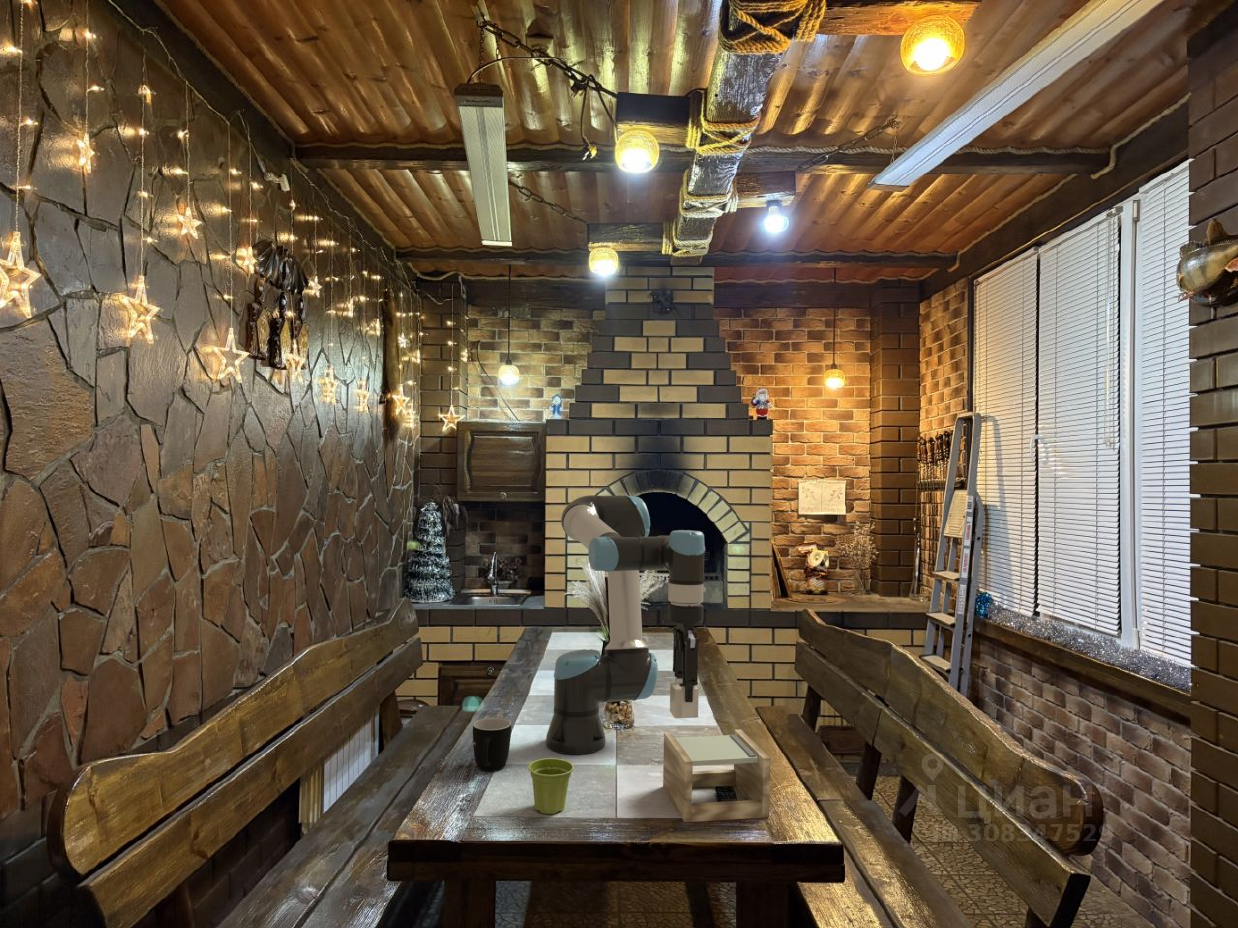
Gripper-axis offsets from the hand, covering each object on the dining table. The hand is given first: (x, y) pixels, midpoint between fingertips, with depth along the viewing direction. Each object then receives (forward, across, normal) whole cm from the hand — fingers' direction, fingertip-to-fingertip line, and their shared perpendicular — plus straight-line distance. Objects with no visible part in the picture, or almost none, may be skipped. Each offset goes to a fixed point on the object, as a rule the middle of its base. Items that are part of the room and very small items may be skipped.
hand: (684, 712), depth 165 cm
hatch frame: (+19, 0, -7) cm, 20 cm away
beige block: (0, 0, 0) cm, 0 cm away
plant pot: (+19, 0, +28) cm, 34 cm away
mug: (+19, +23, +41) cm, 51 cm away
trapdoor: (+9, 0, -7) cm, 11 cm away
